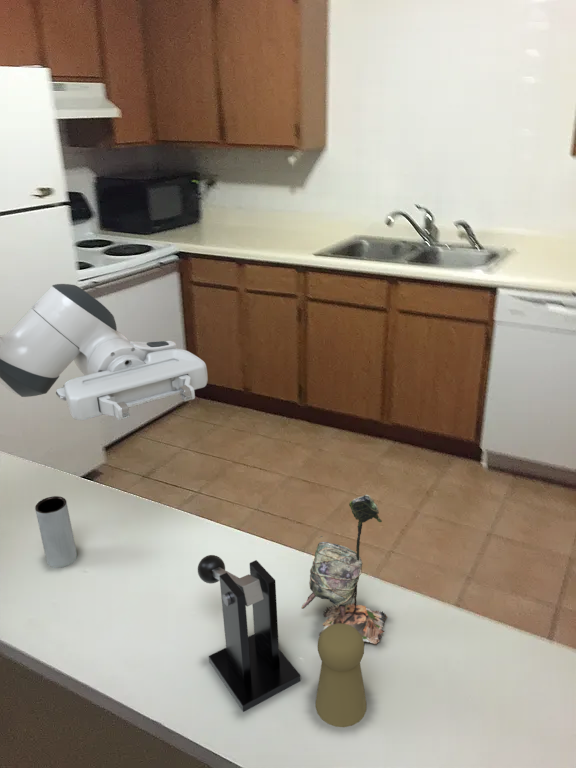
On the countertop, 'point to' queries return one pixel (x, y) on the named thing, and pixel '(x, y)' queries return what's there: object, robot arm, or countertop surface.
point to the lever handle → (248, 584)
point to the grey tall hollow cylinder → (56, 531)
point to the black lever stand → (252, 644)
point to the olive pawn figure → (341, 676)
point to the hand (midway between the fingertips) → (157, 404)
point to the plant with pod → (345, 579)
